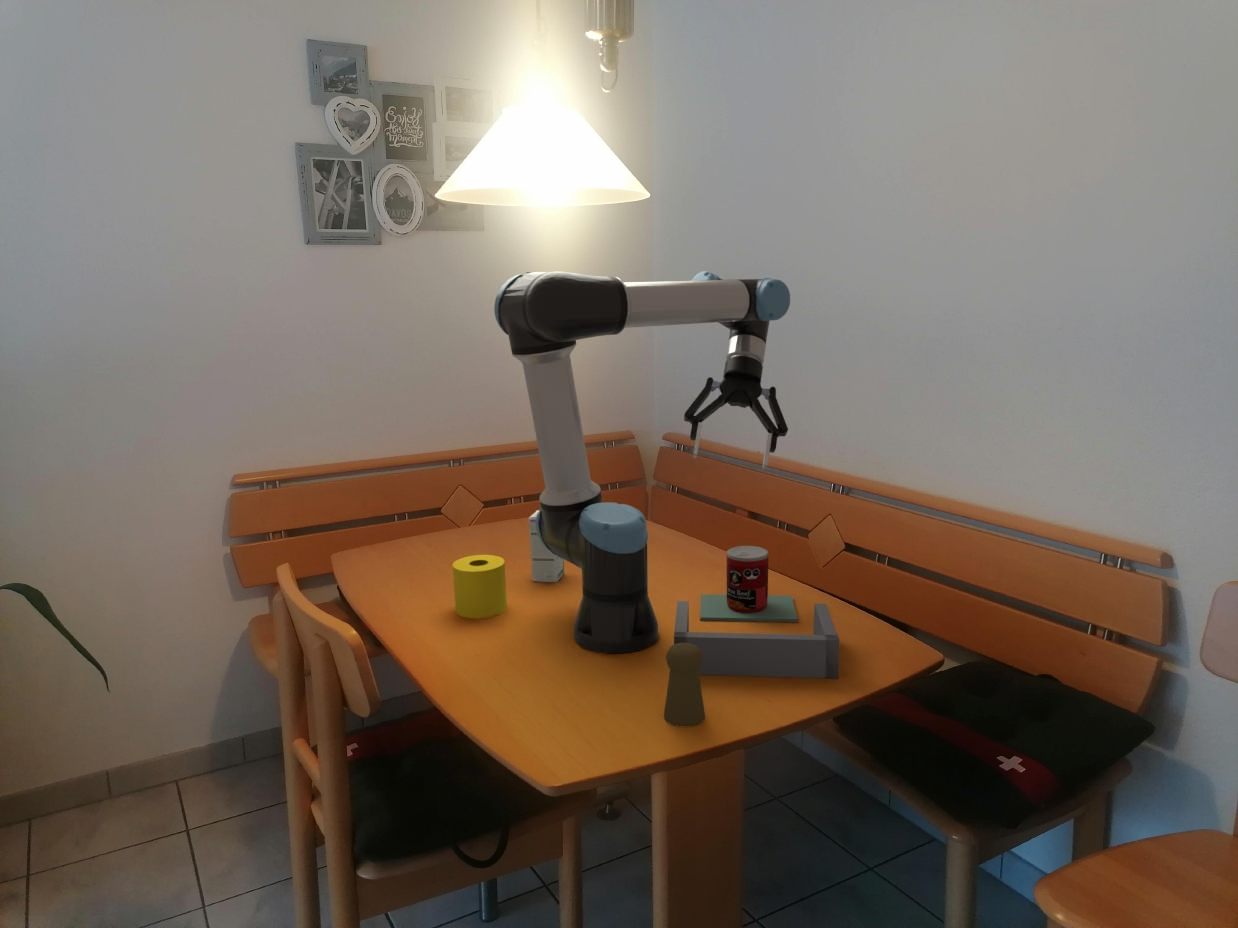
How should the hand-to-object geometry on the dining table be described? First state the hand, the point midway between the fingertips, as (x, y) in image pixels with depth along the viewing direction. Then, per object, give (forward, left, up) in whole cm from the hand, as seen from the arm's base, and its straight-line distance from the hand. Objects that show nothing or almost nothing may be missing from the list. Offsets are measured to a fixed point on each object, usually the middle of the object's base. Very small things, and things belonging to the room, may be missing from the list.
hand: (729, 461), depth 164 cm
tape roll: (-49, -8, -28) cm, 57 cm away
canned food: (+3, -6, -28) cm, 28 cm away
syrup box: (-39, +10, -28) cm, 49 cm away
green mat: (+3, -6, -28) cm, 29 cm away
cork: (-8, -48, -28) cm, 56 cm away
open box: (+3, -26, -28) cm, 38 cm away
